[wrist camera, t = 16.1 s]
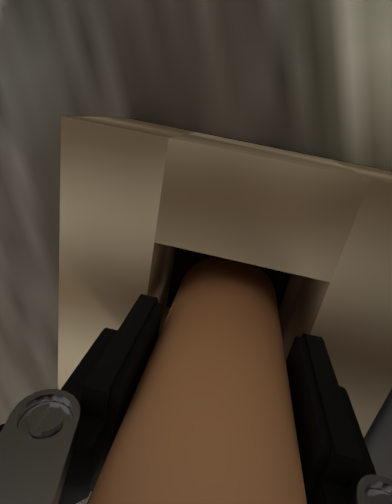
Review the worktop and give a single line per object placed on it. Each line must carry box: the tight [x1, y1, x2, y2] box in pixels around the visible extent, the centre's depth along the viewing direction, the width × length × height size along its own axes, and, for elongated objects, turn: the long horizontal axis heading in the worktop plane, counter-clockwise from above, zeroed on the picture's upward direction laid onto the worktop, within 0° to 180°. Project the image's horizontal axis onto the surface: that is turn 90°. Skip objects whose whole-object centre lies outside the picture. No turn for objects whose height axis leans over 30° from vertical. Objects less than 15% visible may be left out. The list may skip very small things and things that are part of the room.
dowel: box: [87, 256, 307, 504], centre depth 8 cm, size 4×4×12 cm
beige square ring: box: [58, 116, 392, 437], centre depth 14 cm, size 12×12×5 cm
